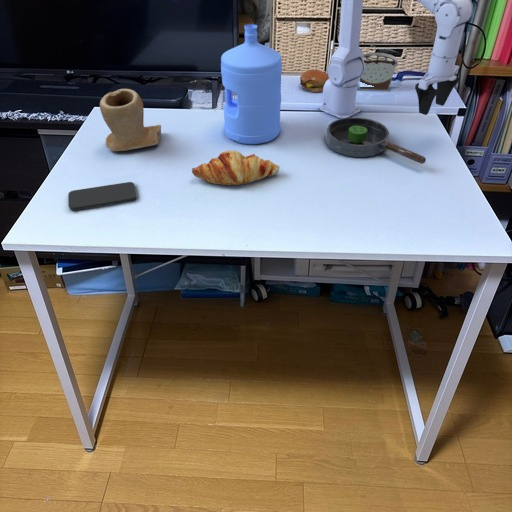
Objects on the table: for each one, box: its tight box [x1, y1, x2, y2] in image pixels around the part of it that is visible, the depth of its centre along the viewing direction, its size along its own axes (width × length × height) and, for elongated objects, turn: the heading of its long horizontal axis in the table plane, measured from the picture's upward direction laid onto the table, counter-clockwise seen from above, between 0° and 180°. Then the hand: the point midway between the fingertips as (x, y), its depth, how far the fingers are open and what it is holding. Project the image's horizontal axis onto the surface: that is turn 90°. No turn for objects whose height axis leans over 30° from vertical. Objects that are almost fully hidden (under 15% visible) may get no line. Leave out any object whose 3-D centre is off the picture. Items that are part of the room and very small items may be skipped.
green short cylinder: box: [348, 126, 367, 144], centre depth 132 cm, size 5×5×4 cm
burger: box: [299, 69, 329, 93], centre depth 160 cm, size 10×9×5 cm
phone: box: [67, 181, 138, 211], centre depth 114 cm, size 7×1×15 cm
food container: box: [358, 52, 399, 92], centre depth 158 cm, size 12×6×10 cm, turn 84°
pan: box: [325, 116, 390, 158], centre depth 132 cm, size 16×16×4 cm
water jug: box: [220, 23, 283, 145], centre depth 129 cm, size 16×16×28 cm
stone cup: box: [99, 88, 162, 152], centre depth 128 cm, size 15×12×15 cm
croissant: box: [191, 150, 281, 186], centre depth 119 cm, size 21×10×8 cm, turn 98°
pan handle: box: [380, 141, 427, 165], centre depth 123 cm, size 12×2×2 cm, turn 43°
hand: (431, 108), depth 125 cm, fingers open, 7 cm apart
